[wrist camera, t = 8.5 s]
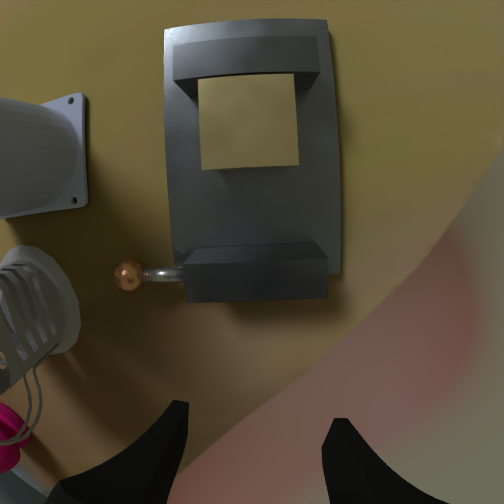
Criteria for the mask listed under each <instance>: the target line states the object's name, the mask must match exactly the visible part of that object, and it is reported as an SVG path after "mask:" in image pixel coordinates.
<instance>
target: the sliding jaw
mask: <svg viewBox="0 0 504 504" xmlns="http://www.w3.org/2000/svg"><path fill="white" fill-rule="evenodd" d="M328 262H329V259H328V257H327V256H326V255H325V253H324V252H323V251H322V250H321V248H320V247H319V246H318V244H317V243H306V244H280V245H255V246H231V247H208V248H196V249H195V251H194V252H193V253H192V254H191V255H190V257H189V258H188V259H187V260H186V261H185V262H184V264H183V266H166V267H144V265H143V264H142V263H141V262H140V261H138V260H137V259H134V258H125V259H123V260H121V261H119V262H118V263H117V264H116V266H115V268H114V270H113V280H114V283H115V285H116V286H117V287H118V288H119V289H120V290H121V291H123V292H126V293H134V292H137V291H139V290H140V289H141V288H142V287H143V286H144V284H145V283H185V288H186V296H187V303H194V302H242V301H270V300H293V299H312V298H328Z"/></svg>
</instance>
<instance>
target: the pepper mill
mask: <svg viewBox="0 0 504 504" xmlns="http://www.w3.org/2000/svg"><path fill="white" fill-rule="evenodd" d="M23 425H24V422H23V421H22V419H21V418H20V417H19V416H18V415H17V414H16V413H15V412H14V411H13V410H12V409H10V408H9V407H8V406H6V405H4V404H2V403H0V440H1V441H6V440H8V439H10V438H12V437H14V436H15V435H16V434H17V433H18V432H19V430H20V429H21V427H22V426H23ZM27 431H28V428H27V427H26V429H25V430H24V431H23V432H22V434H21V435H20V436H19V437H21V436H23V435H24V434H25V433H26V432H27ZM19 437H18V438H19ZM18 438H17V439H18ZM29 440H30V435H29V437H27V438H26V439H24V440H22V441H20V442H17V443H14V444H11V445H2V446H0V474H1V473H3V472H6V471H8V470H10V469H12V468H13V467H14V466H15V465H16V464H17V463H18V462H19V460H20V449H19V448H23V447H25V445H26V444H27V443H28V441H29Z"/></svg>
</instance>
